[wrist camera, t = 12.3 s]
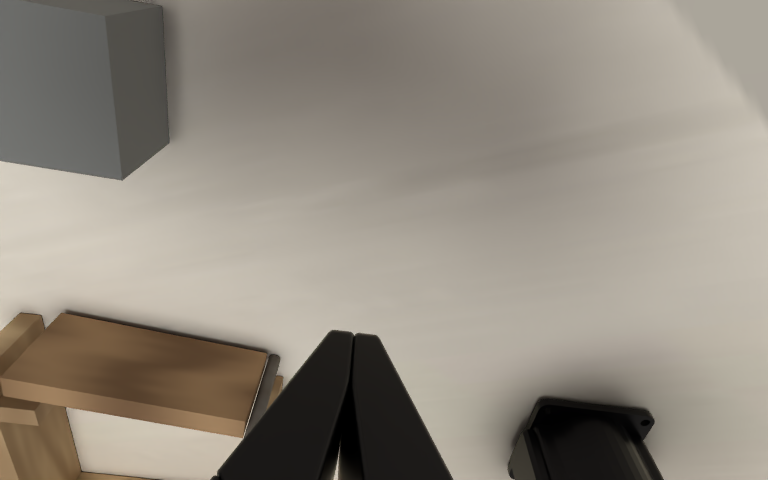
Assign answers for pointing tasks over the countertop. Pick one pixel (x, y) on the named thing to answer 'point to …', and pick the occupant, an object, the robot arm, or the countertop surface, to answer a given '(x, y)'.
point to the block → (82, 85)
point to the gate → (138, 375)
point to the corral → (64, 418)
